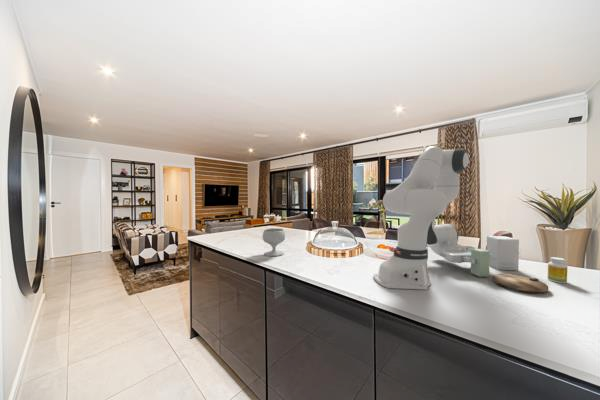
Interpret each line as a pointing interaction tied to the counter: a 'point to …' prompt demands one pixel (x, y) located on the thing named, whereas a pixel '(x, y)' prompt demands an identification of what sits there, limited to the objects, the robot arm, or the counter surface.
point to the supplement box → (503, 252)
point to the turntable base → (519, 290)
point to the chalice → (274, 240)
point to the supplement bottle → (557, 270)
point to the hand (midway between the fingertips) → (481, 261)
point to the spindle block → (480, 262)
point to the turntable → (520, 282)
